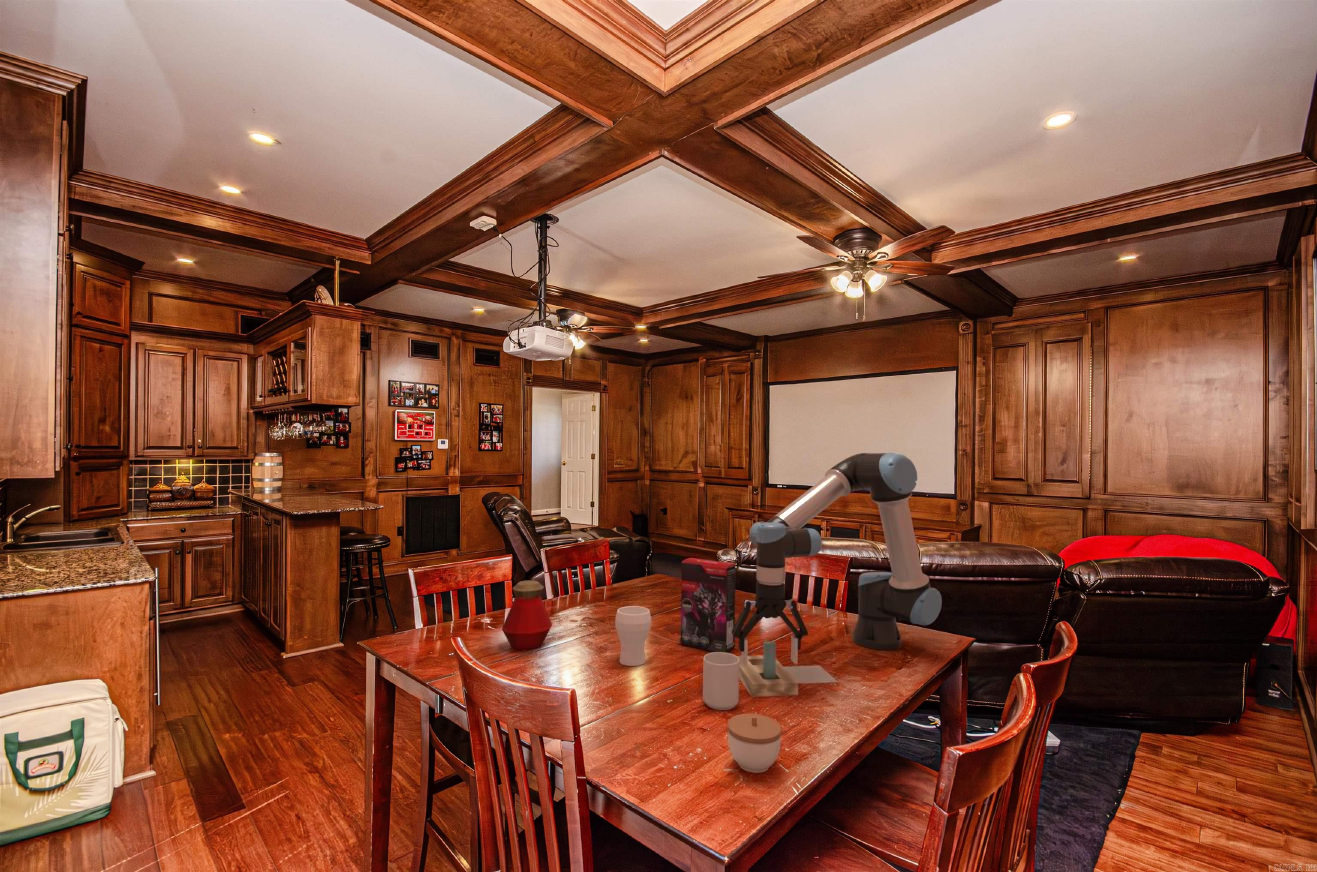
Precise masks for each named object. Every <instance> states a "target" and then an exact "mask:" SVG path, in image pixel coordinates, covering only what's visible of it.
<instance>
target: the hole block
mask: <svg viewBox="0 0 1317 872" xmlns="http://www.w3.org/2000/svg"><path fill="white" fill-rule="evenodd" d="M736 656H737V657H738V658H739V681H740V682H741V683H742V686H743V687H745V689H746V691H747V692H748V693H749V695H750V697H751V698H752V699H754V698H755V697H758V698H759V697H760V698H761V697H781V696H799V684H798V682H797V681H796V680H795V679H794V678H793V677H792V675H791V674H790V673H789V672H788V671H787V670H786V669H785V668H784V667H785V666H783V664H782V663H781V662H780V661H779V660H778V659H777V658H776V678H775V679H767V680H764V679H763V654H760V655H757V654H756V655H747V665H744V664H743V663H742V655H736Z"/></svg>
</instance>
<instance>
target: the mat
mask: <svg viewBox="0 0 1317 872" xmlns="http://www.w3.org/2000/svg"><path fill="white" fill-rule="evenodd" d="M783 667H784V668H785V669H786V670H787V671H788V672H789V673H790V674H791V675H792V677H793V678H794V679H795V680H796V681H797V682H798V685H799V684H823V683H825V684H827V683H828V684H829V683H838V681H837V680H836V679H835V678H834V677H833V676H832V675H831V674H830V673H828V671H826V670H825V669H824V668H823V667H822V666H821V665H795V666H791V665H790V666H783Z"/></svg>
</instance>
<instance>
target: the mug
mask: <svg viewBox="0 0 1317 872" xmlns="http://www.w3.org/2000/svg"><path fill="white" fill-rule="evenodd" d="M737 656H738V655H735V654H733V653H731V652H729V653H724V652H709V653H707V654H705V655H704V656H703V663H702V665H703V666H702V669H703V670H702V700H703V702H704V704H706V706H708V707H709V708H711V709H713V710H718V711H727V710H728V711H729V710H731V709H733V708H735V707H736V706H737V705H738V703H739V700H740V679H739V658H738V657H737Z"/></svg>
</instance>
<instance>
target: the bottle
mask: <svg viewBox="0 0 1317 872" xmlns="http://www.w3.org/2000/svg"><path fill="white" fill-rule="evenodd" d="M511 590H512V592H513V594H514V600H513V602H512V605H511V606H510V609H509V611H508V614H507V616H506V618H505V621H504V623H503V625H502V628H501V631H502V633H503V634H504V636H505V638H506V640H507V641H508V643H509V644H508V645H510V647H511V648H512V649H513V650H516V651H530V650H531V651H532V650H536V649H539V648H541V647H542V645H543V643H544V642H545V640H546V638H547V636H548V634H549V633H550V630H551V628H552V626H553V623H552V620H551V618H550V616H549V613H548V611H547V609H546V605H545V604H544V601H543V599H542V598H543V597H541V594H542V593H543V590H544V585H542V584H541V583H540V582H539V581H537V580H523V581H522V580H521V581H519V582H518V583H516V584H515V586H513V587H512V588H511Z"/></svg>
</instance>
